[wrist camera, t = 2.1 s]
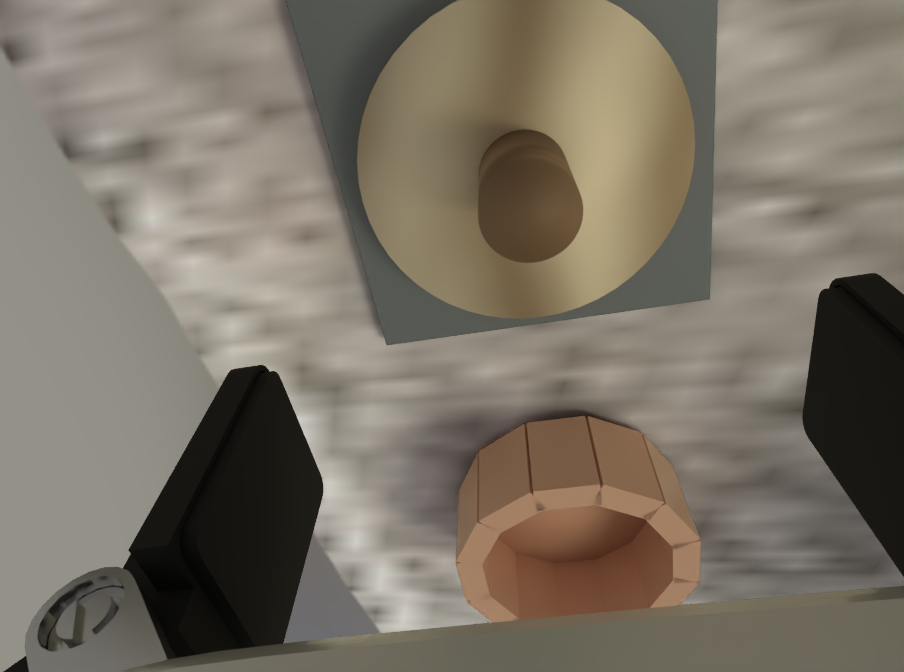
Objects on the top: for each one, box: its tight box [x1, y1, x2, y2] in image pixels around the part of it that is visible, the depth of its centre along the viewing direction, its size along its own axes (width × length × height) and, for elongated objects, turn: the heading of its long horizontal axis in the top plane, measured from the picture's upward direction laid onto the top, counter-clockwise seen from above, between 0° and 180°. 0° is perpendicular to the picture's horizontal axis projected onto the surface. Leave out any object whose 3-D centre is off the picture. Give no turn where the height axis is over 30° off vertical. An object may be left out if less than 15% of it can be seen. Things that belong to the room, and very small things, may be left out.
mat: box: [286, 0, 718, 345], centre depth 24 cm, size 14×14×1 cm
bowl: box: [456, 416, 701, 623], centre depth 31 cm, size 11×11×5 cm
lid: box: [357, 0, 695, 319], centre depth 21 cm, size 12×12×5 cm
